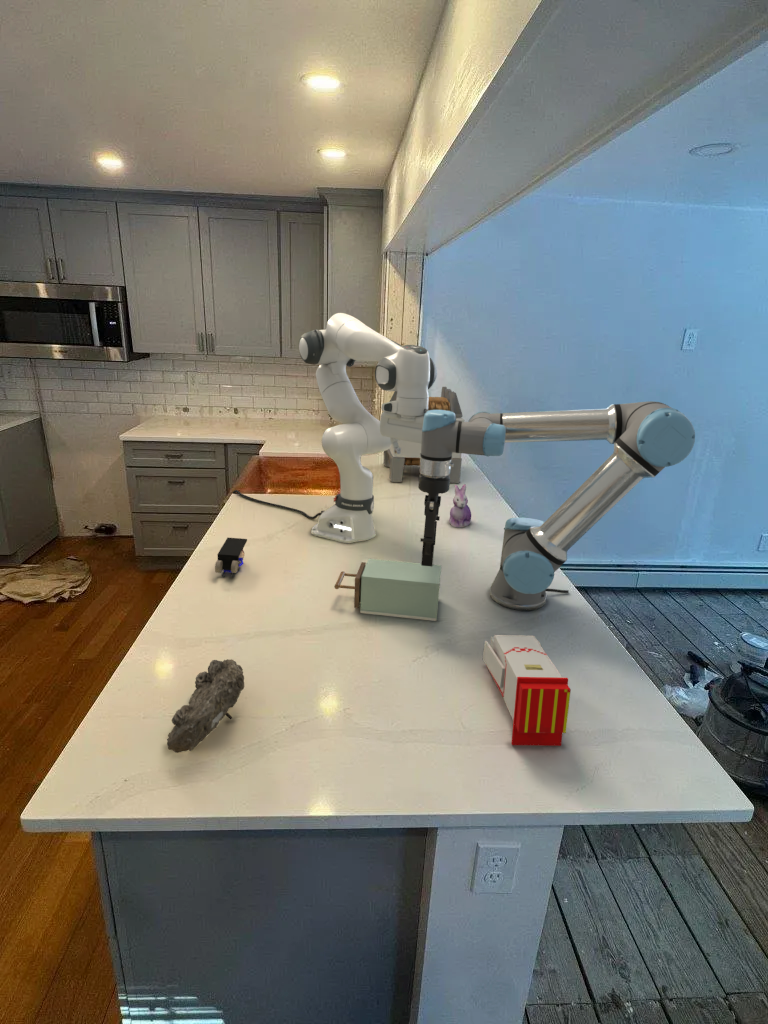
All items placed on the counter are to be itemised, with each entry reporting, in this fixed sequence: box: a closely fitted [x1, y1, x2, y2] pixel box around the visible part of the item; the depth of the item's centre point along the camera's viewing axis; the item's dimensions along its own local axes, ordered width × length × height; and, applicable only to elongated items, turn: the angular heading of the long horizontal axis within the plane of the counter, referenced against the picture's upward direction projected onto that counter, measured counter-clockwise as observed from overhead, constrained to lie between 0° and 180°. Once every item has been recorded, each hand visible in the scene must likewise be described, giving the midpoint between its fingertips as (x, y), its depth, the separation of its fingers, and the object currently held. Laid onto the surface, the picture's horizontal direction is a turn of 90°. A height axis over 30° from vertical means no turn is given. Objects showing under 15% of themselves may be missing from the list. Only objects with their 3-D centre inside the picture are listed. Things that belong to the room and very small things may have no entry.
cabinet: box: [360, 558, 442, 622], centre depth 150 cm, size 20×11×11 cm, turn 82°
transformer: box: [383, 386, 466, 484], centre depth 268 cm, size 34×33×41 cm
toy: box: [482, 634, 572, 747], centre depth 115 cm, size 12×13×30 cm
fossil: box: [166, 658, 245, 754], centre depth 106 cm, size 22×10×15 cm
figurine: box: [448, 483, 472, 528], centre depth 209 cm, size 9×10×15 cm
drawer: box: [334, 561, 367, 609], centre depth 150 cm, size 24×10×8 cm, turn 82°
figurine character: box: [214, 537, 248, 578], centre depth 166 cm, size 7×8×15 cm
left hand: (410, 456), depth 160 cm, fingers open, 8 cm apart
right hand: (428, 554), depth 145 cm, fingers open, 13 cm apart
